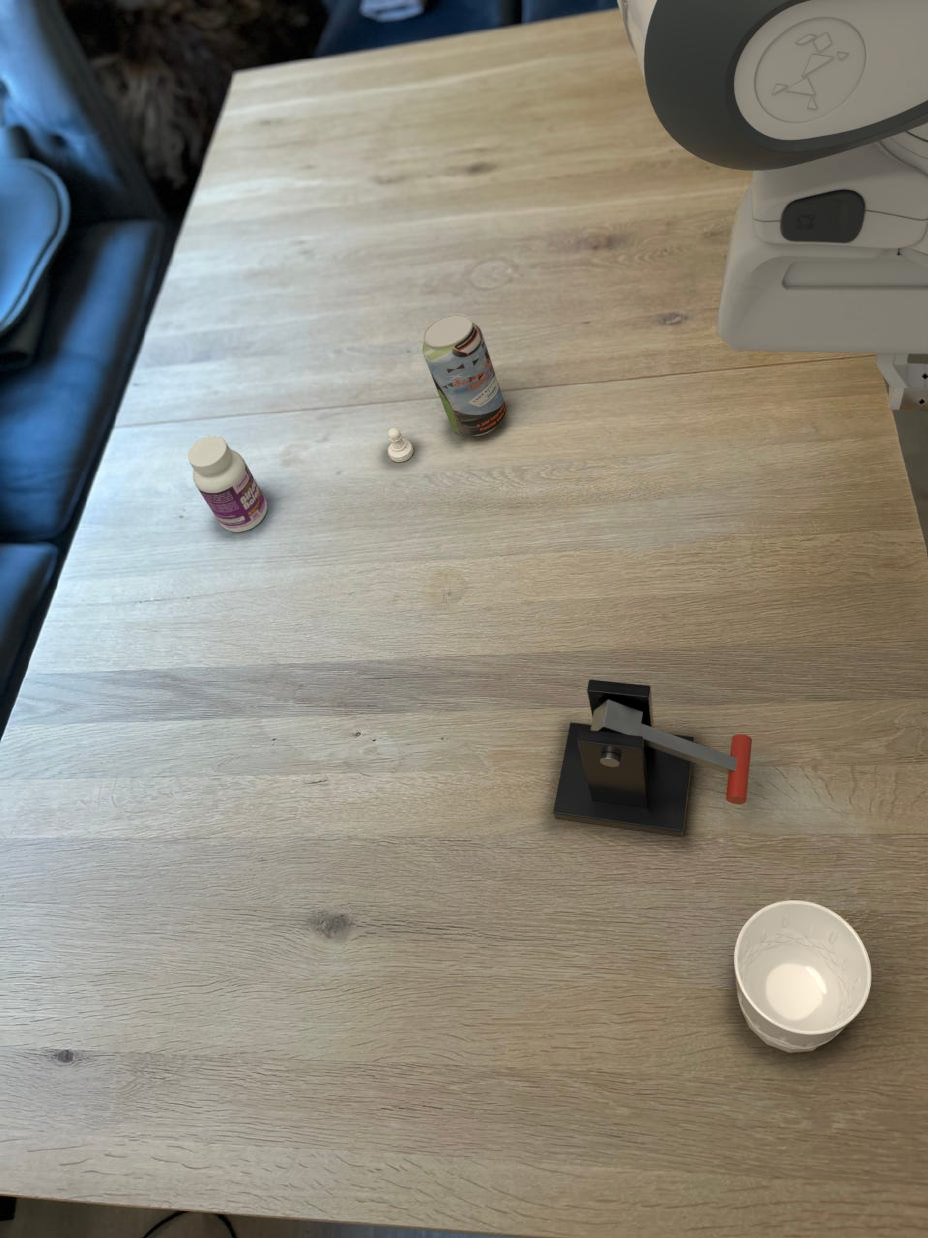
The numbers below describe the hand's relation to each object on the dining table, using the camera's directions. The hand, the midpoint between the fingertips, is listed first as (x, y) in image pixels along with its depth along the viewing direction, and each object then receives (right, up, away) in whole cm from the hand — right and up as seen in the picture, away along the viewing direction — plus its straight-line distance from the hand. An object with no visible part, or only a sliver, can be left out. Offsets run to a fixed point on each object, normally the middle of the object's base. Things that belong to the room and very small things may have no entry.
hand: (918, 401), depth 51 cm
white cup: (-1, -38, +18) cm, 41 cm away
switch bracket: (-10, -24, +28) cm, 39 cm away
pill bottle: (-46, 0, +53) cm, 70 cm away
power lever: (-8, -21, +22) cm, 31 cm away
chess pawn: (-30, +6, +53) cm, 61 cm away
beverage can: (-22, +10, +53) cm, 58 cm away
